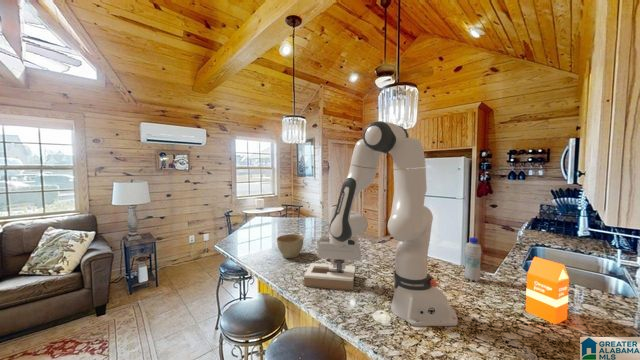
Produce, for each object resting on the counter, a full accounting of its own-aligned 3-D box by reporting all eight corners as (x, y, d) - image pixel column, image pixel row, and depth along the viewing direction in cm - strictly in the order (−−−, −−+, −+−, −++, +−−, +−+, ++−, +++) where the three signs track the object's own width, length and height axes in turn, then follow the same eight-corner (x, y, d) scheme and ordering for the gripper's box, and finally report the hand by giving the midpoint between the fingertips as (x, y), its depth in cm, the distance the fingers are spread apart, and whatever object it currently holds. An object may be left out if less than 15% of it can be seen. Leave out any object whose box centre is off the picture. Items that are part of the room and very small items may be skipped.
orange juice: (555, 324, 84) (558, 266, 83) (525, 310, 92) (527, 257, 91) (567, 318, 88) (570, 262, 86) (537, 305, 96) (539, 254, 94)
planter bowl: (305, 251, 158) (305, 234, 158) (301, 261, 142) (301, 242, 142) (280, 250, 160) (280, 233, 159) (273, 260, 144) (273, 241, 143)
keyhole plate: (355, 276, 122) (355, 266, 122) (353, 290, 109) (353, 279, 108) (311, 272, 127) (311, 263, 127) (304, 285, 113) (304, 275, 113)
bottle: (482, 279, 118) (483, 237, 116) (479, 284, 113) (480, 240, 111) (466, 275, 122) (467, 234, 121) (462, 279, 117) (463, 237, 116)
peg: (345, 279, 119) (345, 257, 118) (344, 284, 114) (343, 261, 113) (334, 278, 120) (334, 256, 119) (333, 283, 115) (333, 260, 114)
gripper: (315, 239, 115) (315, 269, 116) (360, 241, 111) (360, 272, 111) (318, 235, 121) (318, 263, 122) (361, 237, 117) (361, 266, 118)
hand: (339, 268), depth 117 cm, fingers open, 3 cm apart
